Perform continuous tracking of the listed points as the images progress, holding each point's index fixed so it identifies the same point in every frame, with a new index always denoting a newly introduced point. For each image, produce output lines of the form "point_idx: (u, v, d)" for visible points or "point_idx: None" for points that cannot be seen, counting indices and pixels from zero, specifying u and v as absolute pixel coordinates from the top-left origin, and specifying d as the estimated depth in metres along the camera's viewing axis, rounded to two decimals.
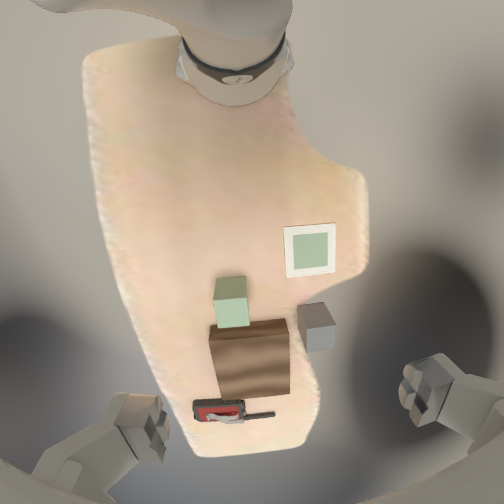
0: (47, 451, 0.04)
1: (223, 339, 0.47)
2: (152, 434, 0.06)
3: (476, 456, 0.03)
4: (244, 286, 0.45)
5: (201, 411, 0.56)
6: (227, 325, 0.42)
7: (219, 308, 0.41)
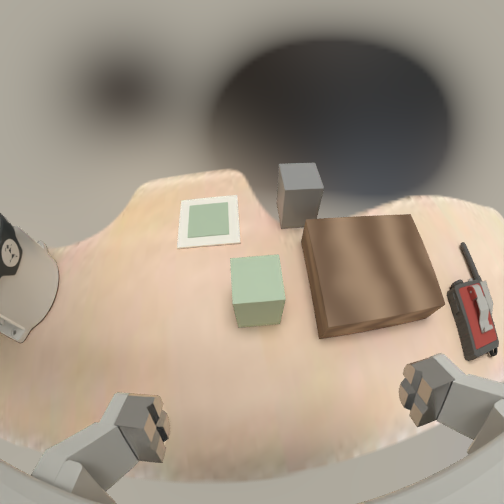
0: (47, 450, 0.04)
1: (323, 305, 0.29)
2: (152, 434, 0.06)
3: (476, 456, 0.03)
4: None
5: (480, 341, 0.27)
6: (279, 284, 0.27)
7: (247, 295, 0.27)
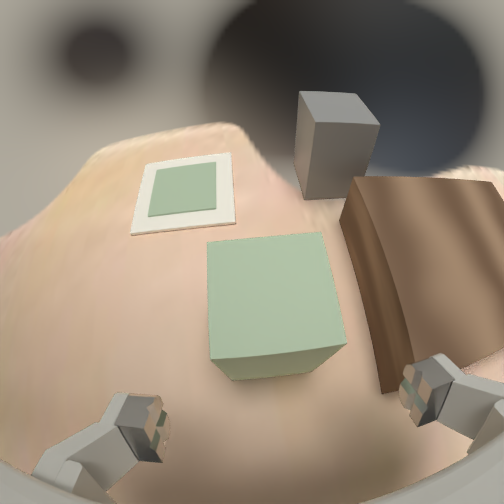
0: (47, 451, 0.04)
1: (407, 339, 0.12)
2: (152, 434, 0.06)
3: (476, 456, 0.03)
4: None
5: None
6: (330, 305, 0.10)
7: (248, 337, 0.10)
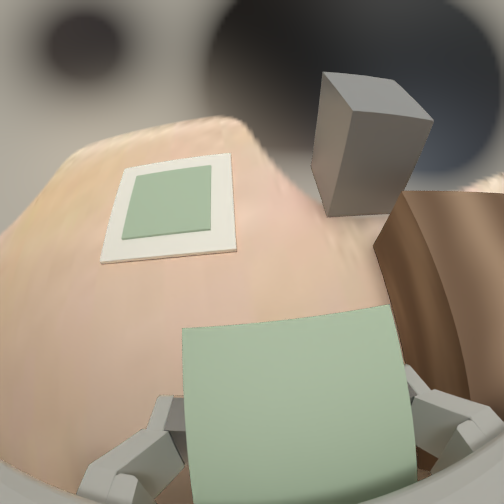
0: (91, 465, 0.04)
1: None
2: None
3: (476, 456, 0.03)
4: None
5: None
6: (401, 440, 0.04)
7: None
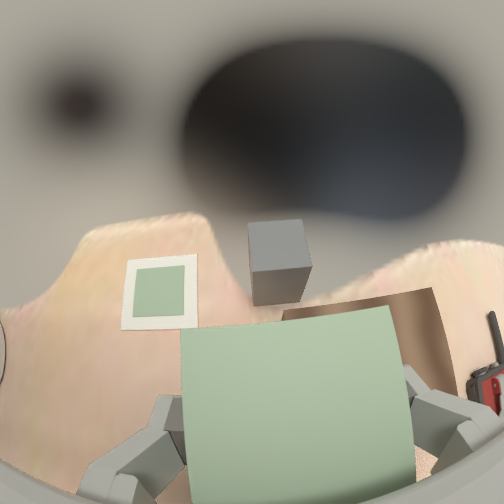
0: (91, 465, 0.04)
1: None
2: None
3: (476, 456, 0.03)
4: None
5: None
6: (400, 441, 0.04)
7: None
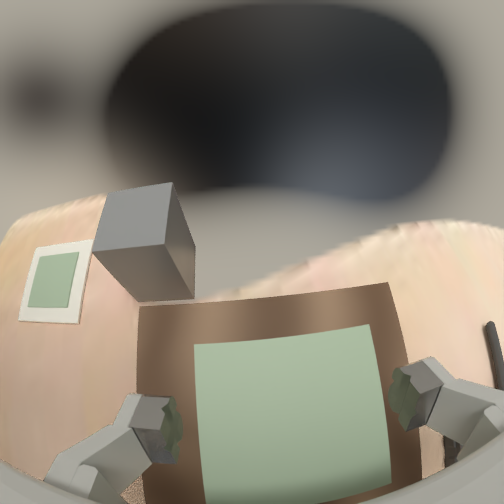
0: (59, 455, 0.04)
1: (144, 484, 0.11)
2: (167, 435, 0.06)
3: (476, 456, 0.03)
4: None
5: None
6: (376, 438, 0.06)
7: (259, 489, 0.05)
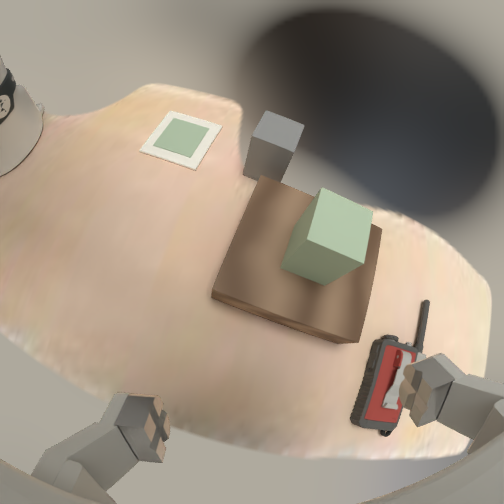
0: (47, 451, 0.04)
1: None
2: (152, 434, 0.06)
3: (476, 456, 0.03)
4: (306, 210, 0.26)
5: (374, 413, 0.26)
6: (363, 244, 0.21)
7: (326, 238, 0.21)
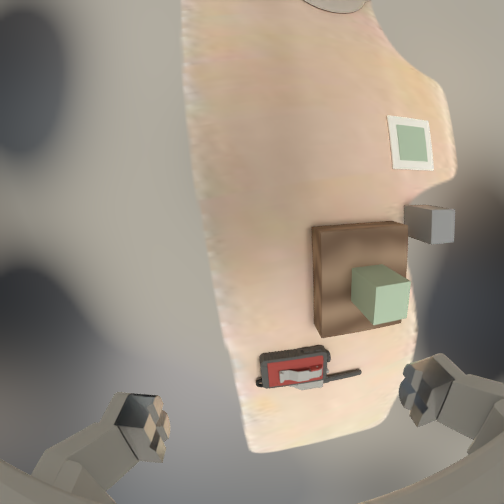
0: (47, 451, 0.04)
1: (338, 230, 0.37)
2: (152, 434, 0.06)
3: (476, 456, 0.03)
4: (394, 272, 0.34)
5: (272, 368, 0.43)
6: (384, 320, 0.31)
7: (380, 297, 0.30)
